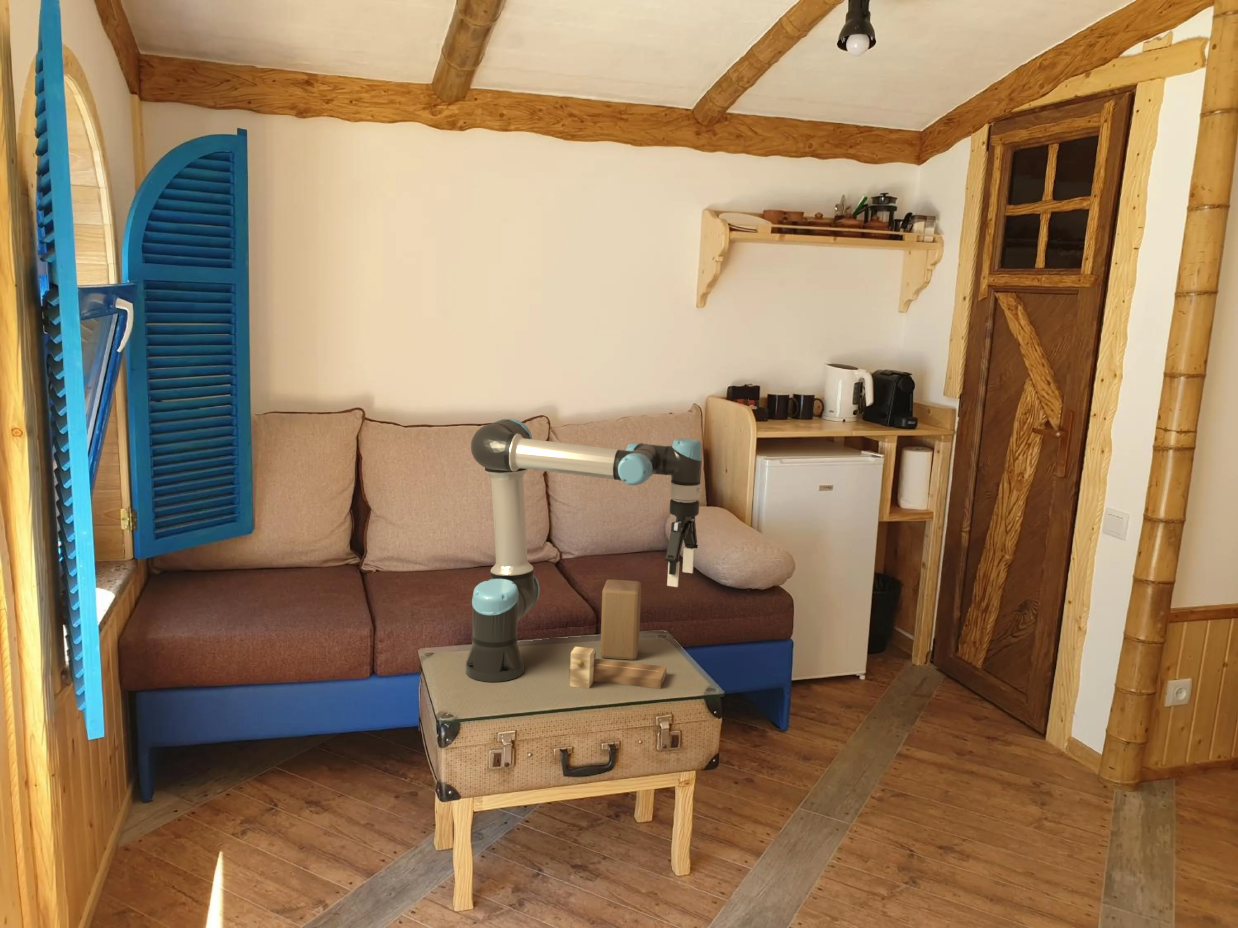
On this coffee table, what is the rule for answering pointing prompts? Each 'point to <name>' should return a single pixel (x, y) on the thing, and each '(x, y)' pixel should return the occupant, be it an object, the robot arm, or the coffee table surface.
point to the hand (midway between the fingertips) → (680, 579)
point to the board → (628, 673)
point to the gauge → (582, 667)
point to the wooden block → (620, 619)
